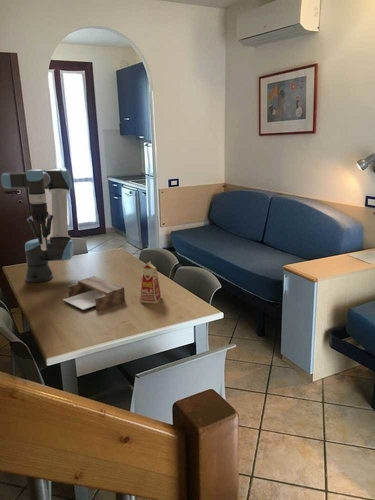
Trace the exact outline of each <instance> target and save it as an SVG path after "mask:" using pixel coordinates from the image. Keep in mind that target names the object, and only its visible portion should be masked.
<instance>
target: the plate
mask: <svg viewBox="0 0 375 500" xmlns="http://www.w3.org/2000/svg"><path fill="white" fill-rule="evenodd" d="M103 295H106V294H103V293H101V292H98V291H96V290H92V291H88V292H85V293H82V294H79V295H76V296H72V297H69V296H68V297H66V298H64V299H62V301H63V302H65V303H68V304H70V305H72V306H74V307H75V308H78V309H81V310H82V311H86V310H89V309H91V308H94V307H95V308H96V303H95V298H97V297H100V296H103Z"/></svg>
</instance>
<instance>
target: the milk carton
mask: <svg viewBox="0 0 375 500" xmlns="http://www.w3.org/2000/svg"><path fill="white" fill-rule="evenodd" d="M151 262H152V261H149V262H147V263H146V265H145V266H144V267H143V268H142V274H141V288H140V289H141V290H140V296H139V300H138V301H139V303H147V304H149V303H151V304H158V303H159V301H160V300H161V298H162V293H161V286H160V282H159V281H160V280H159V276H158V275H159V274H158V272H157V271H158V270H157V267H155V266H154V265H153V264H152V263H151Z"/></svg>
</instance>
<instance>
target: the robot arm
mask: <svg viewBox="0 0 375 500" xmlns="http://www.w3.org/2000/svg"><path fill="white" fill-rule="evenodd" d="M0 182H1V186H2V187H3V188H4V189H10V190H11V189H28V191H27V192H28V197H29V203H30V204H29V205H30V206H29V207H30V216H29V217H28V218H26V221H27V223H28V224H29V227H30V229H31V232H32V234H33V235H32V236H34V237H35V239H31V240H29V241H26V242H25V244H24V251H25V258H26V267H27V268H26V272H25V276H24V277H25V278H24V279H25V281H26V282H28V283H43V282H47V281H50V280H52V279H53V277H54V275H53V272H52V269H51V268H50V265H49V262H55V261H57V262H58V261H62V262H63V261H69V260H71V259H72V258H73V256H74V250H75V241H74V240H73V239H71V236H70V235H69V229H68V226H69V225H68V221H69V219H68V194H69V193H70V190H71V189H73V180H72V176H71V172H70V170H69V169H67V168H61V167H60V168H40V169H39V168H38V169H28V170H27V171H26V172H4V173H2V174H1V177H0ZM46 190H48V192H49V194H50V195H51V214H50V213H49V211H48V204H47V203H48V202H46V201H47V195H46ZM51 230H52V234H51ZM50 235H51V236H50ZM49 236H50V237H49ZM48 237H49V240H48Z"/></svg>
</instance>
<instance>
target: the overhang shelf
mask: <svg viewBox="0 0 375 500" xmlns="http://www.w3.org/2000/svg"><path fill="white" fill-rule="evenodd" d="M92 290H96V291H98V292H101V293H103V294H106V295H103V296H100V297H97V298H95V303H96V306H95V310H96V311H98V312H99V311H101V310H104V309H106V308H110V307H112V306H116V305H118V304H121V303H124V302H125V301H126V296H125V295H126V294H125V287H124V286H121V285H119V284H116V283H114V282H111V281H108V280H105V279H103V278H100V277H97V276H95V275H93V276H89V277H87V278H83V279H79V280H77V283H73V284H70V285H69V284H68V285H67V294H68V298H69V297H72V296H76V295H79V294H82V293H85V292H88V291H92Z"/></svg>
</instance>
